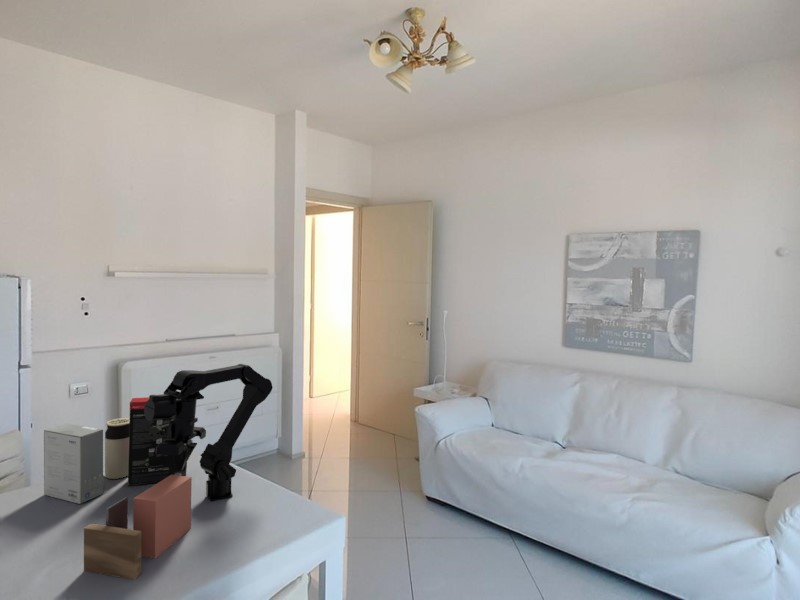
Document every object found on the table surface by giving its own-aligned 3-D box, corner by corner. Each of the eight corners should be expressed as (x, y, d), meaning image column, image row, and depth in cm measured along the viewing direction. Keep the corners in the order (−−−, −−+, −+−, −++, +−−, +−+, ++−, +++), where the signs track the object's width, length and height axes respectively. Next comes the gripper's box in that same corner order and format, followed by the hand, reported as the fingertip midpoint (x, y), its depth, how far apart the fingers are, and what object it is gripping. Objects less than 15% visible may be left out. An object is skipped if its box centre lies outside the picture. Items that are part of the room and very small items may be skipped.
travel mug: (132, 477, 158) (133, 423, 157) (104, 481, 154) (104, 426, 153) (132, 468, 164) (133, 416, 164) (105, 472, 161) (105, 419, 160)
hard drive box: (104, 494, 145) (104, 429, 144) (80, 505, 138) (80, 437, 137) (67, 484, 150) (67, 422, 149) (42, 495, 143) (42, 429, 142)
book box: (170, 525, 129) (171, 474, 128) (190, 528, 128) (191, 477, 127) (132, 554, 115) (133, 498, 115) (155, 558, 114) (155, 501, 114)
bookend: (110, 551, 116) (111, 494, 116) (127, 553, 116) (127, 497, 115) (90, 565, 111) (90, 506, 110) (108, 568, 110) (108, 509, 109)
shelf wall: (91, 565, 111) (91, 523, 110) (141, 574, 108) (141, 531, 108) (83, 571, 109) (83, 528, 108) (134, 579, 106) (134, 535, 106)
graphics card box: (187, 472, 163) (188, 393, 162) (187, 480, 157) (188, 398, 155) (130, 479, 156) (130, 396, 155) (127, 488, 150) (128, 402, 148)
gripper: (172, 406, 146) (168, 457, 146) (138, 421, 127) (133, 480, 127) (208, 409, 146) (204, 460, 146) (179, 424, 127) (175, 483, 127)
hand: (180, 470), depth 137 cm, fingers closed
